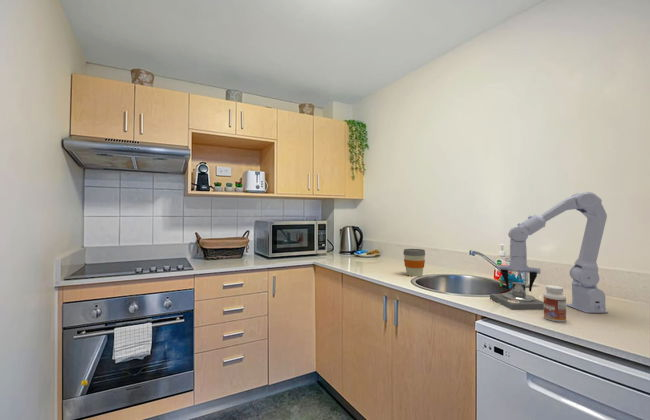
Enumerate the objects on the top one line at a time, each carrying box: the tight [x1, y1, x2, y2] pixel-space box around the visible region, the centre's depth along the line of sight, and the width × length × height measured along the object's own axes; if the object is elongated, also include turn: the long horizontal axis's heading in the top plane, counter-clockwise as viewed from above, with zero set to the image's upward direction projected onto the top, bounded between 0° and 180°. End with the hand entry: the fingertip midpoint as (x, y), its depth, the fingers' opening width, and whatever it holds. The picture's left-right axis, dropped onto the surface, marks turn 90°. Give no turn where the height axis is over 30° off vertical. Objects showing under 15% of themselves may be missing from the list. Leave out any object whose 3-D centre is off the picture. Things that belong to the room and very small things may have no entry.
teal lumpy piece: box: [498, 272, 525, 290], centre depth 147 cm, size 11×6×10 cm
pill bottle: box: [543, 284, 567, 323], centre depth 103 cm, size 6×6×11 cm
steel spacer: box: [511, 282, 527, 297], centre depth 123 cm, size 5×5×5 cm
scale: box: [489, 292, 544, 311], centre depth 121 cm, size 15×14×3 cm
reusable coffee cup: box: [402, 248, 426, 277], centre depth 179 cm, size 13×13×15 cm
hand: (518, 289), depth 122 cm, fingers open, 7 cm apart
